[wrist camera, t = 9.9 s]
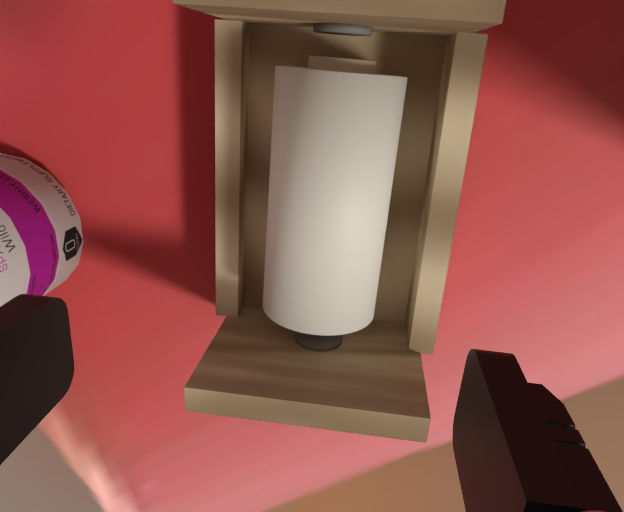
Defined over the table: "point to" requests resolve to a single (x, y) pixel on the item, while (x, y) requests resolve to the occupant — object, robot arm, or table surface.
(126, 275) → the table surface
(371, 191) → the paper roll
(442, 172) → the roll holder
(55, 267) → the supplement can
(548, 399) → the robot arm
